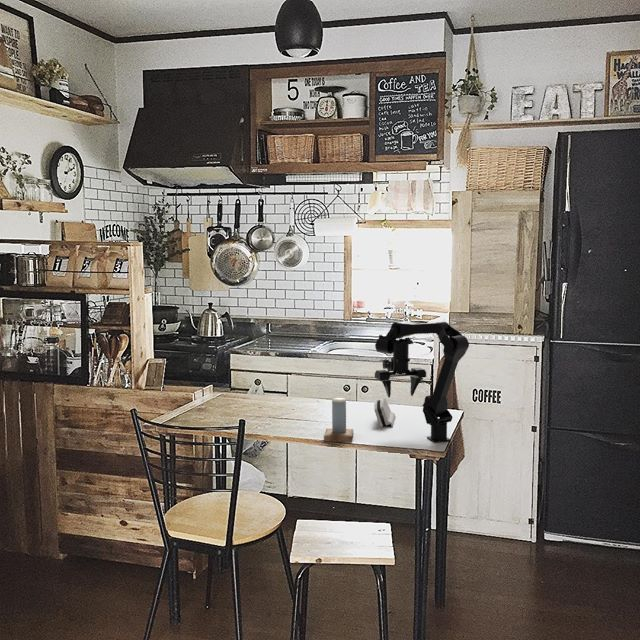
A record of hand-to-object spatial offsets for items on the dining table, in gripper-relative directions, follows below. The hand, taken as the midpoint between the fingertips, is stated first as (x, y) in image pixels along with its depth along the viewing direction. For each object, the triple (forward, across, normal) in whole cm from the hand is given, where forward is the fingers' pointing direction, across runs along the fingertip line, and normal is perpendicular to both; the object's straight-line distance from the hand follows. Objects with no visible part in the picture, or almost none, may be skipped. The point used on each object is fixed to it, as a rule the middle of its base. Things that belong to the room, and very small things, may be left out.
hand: (400, 396), depth 288 cm
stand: (+13, +25, +2) cm, 28 cm away
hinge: (+13, 0, -15) cm, 20 cm away
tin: (+11, +25, +2) cm, 27 cm away
